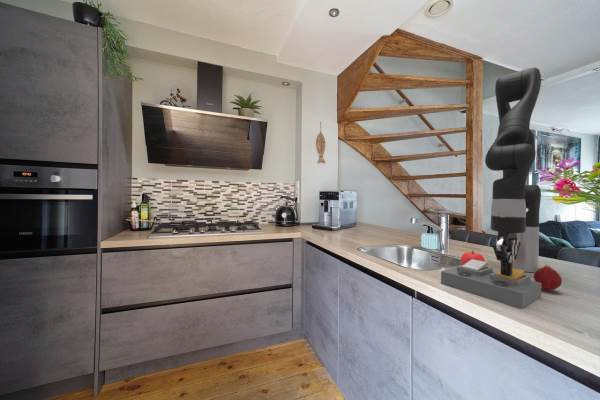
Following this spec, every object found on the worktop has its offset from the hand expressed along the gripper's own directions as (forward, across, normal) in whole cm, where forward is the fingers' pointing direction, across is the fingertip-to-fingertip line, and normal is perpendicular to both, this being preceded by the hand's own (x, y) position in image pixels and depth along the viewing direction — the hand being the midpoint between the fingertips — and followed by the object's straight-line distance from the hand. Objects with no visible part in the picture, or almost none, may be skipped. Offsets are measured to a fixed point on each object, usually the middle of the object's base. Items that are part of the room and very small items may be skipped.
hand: (506, 274), depth 67 cm
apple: (+6, -17, -15) cm, 23 cm away
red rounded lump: (+6, -15, +5) cm, 17 cm away
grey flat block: (+6, 0, -4) cm, 7 cm away
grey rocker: (0, -3, -9) cm, 9 cm away
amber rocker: (0, -3, 0) cm, 3 cm away
